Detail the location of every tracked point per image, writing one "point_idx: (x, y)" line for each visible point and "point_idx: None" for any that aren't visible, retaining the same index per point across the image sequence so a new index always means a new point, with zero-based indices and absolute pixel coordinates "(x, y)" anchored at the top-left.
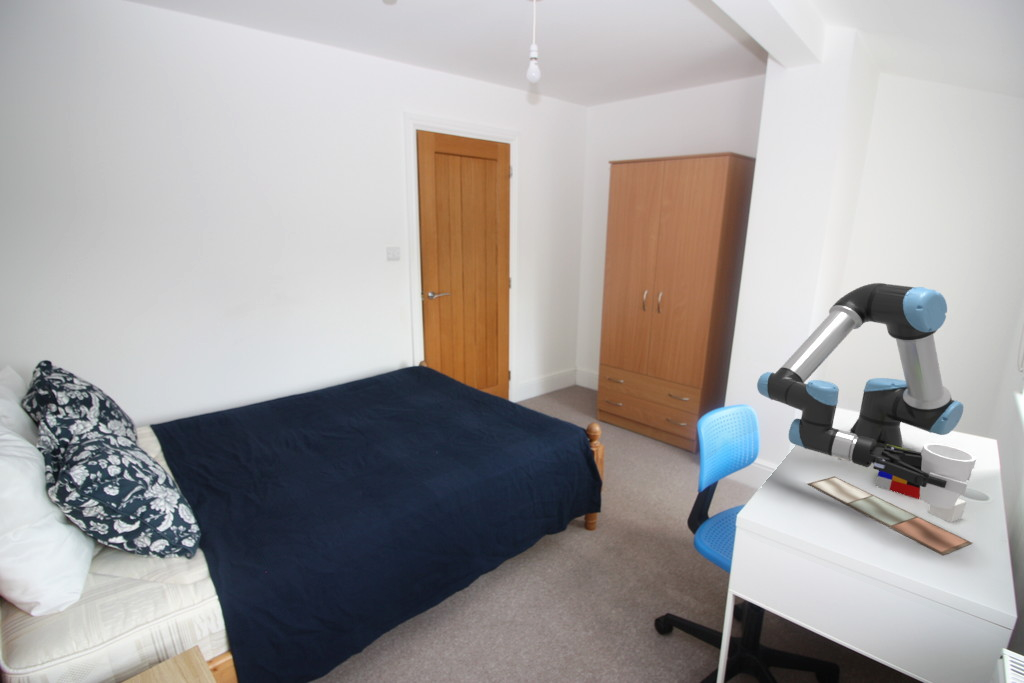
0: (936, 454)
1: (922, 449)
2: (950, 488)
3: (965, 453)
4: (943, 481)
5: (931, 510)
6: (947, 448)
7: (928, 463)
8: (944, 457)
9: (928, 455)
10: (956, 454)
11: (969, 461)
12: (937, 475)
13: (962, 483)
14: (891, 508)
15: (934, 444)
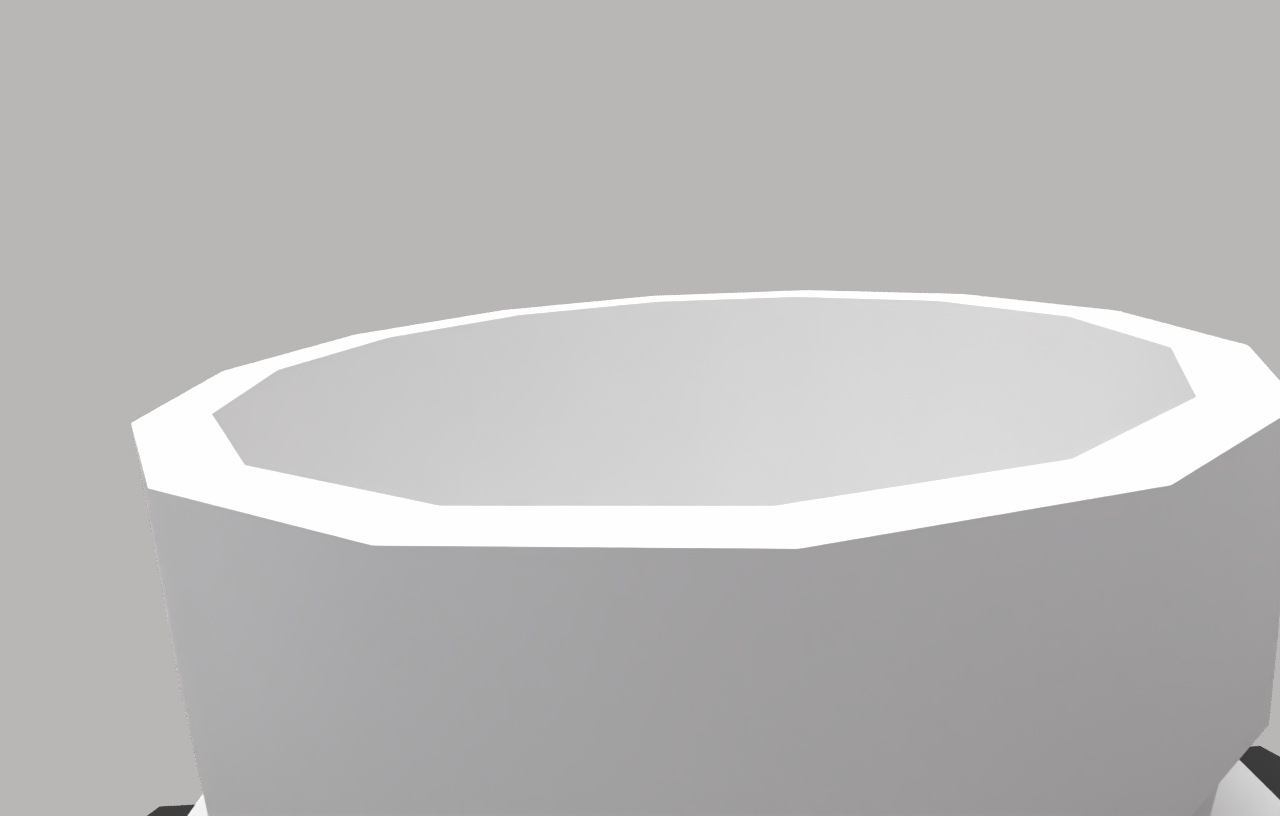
0: (1239, 372)
1: (823, 723)
2: None
3: (435, 349)
4: (1277, 771)
5: None
6: (247, 453)
7: (1206, 803)
8: (1200, 336)
9: (1256, 570)
10: (350, 474)
11: (872, 294)
12: (1266, 797)
13: None
14: None
15: (253, 476)
